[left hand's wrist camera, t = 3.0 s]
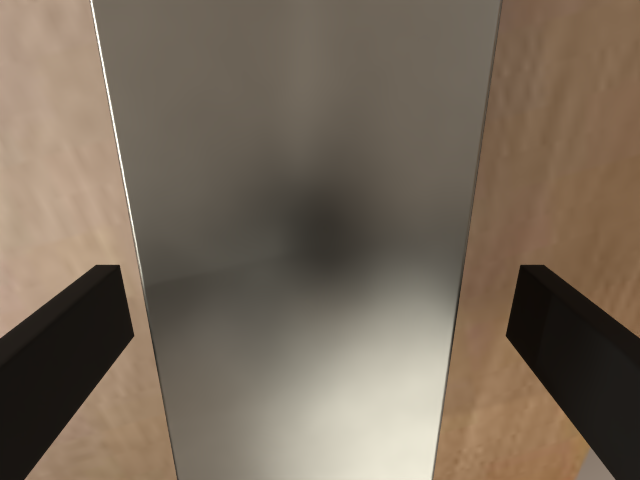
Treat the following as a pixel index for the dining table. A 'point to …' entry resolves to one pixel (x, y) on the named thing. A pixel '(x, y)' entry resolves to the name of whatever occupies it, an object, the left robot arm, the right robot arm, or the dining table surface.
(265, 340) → the box
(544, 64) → the dining table surface
